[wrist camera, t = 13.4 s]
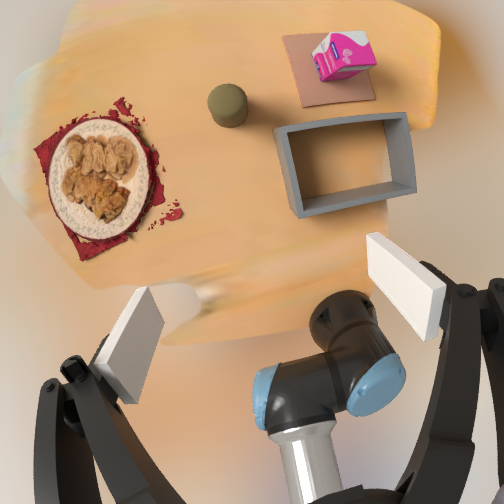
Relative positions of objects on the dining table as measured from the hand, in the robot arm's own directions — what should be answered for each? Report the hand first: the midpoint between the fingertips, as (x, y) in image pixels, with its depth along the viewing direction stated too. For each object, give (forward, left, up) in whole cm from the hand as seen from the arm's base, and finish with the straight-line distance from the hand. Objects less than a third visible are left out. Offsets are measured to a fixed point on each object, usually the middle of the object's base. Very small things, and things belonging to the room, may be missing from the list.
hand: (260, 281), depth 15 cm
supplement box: (+19, -20, -32) cm, 42 cm away
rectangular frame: (+2, -18, -33) cm, 37 cm away
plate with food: (+10, +25, -34) cm, 43 cm away
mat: (+19, -20, -33) cm, 43 cm away
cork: (+14, -1, -33) cm, 36 cm away
